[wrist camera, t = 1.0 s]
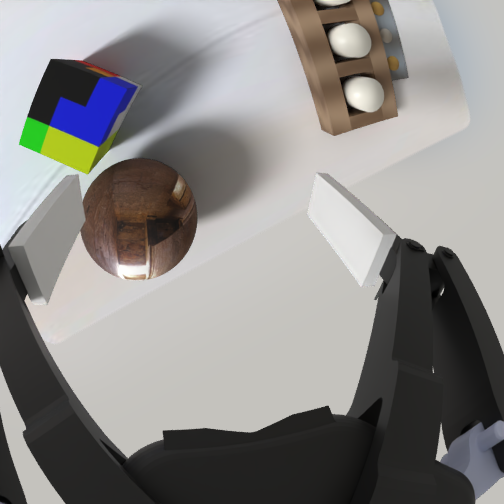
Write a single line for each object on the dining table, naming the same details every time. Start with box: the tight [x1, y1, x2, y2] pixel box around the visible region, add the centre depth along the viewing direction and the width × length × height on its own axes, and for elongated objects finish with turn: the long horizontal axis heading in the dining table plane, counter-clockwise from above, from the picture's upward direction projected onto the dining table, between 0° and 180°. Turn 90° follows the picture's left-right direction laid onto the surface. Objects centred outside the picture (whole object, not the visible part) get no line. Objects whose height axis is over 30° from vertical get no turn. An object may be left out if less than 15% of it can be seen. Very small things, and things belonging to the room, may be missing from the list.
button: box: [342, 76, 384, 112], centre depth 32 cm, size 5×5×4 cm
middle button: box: [326, 23, 371, 58], centre depth 27 cm, size 5×5×4 cm
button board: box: [277, 0, 408, 136], centre depth 28 cm, size 26×19×4 cm
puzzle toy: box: [19, 59, 142, 174], centre depth 25 cm, size 10×10×10 cm
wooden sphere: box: [80, 158, 197, 280], centre depth 32 cm, size 15×15×15 cm
